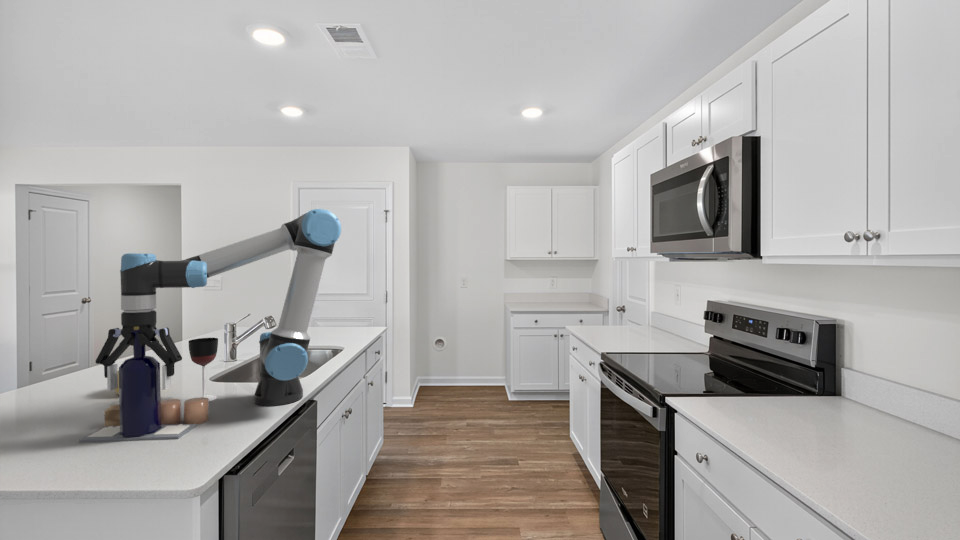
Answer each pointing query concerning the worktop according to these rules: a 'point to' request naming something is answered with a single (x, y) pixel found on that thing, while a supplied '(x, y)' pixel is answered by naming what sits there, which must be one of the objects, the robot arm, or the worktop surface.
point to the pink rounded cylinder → (170, 412)
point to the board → (114, 435)
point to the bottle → (139, 393)
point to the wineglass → (203, 356)
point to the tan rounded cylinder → (196, 410)
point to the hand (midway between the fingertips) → (140, 388)
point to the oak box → (112, 416)
